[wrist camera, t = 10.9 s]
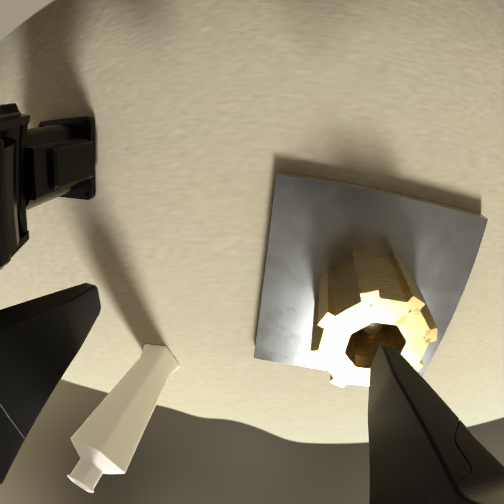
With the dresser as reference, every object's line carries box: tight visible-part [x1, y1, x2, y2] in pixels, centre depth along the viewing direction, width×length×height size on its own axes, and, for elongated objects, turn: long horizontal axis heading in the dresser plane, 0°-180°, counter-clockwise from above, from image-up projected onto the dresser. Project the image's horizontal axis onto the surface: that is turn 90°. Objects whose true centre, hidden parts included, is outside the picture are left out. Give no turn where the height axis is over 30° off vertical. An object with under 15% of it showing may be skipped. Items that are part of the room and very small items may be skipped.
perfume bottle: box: [67, 344, 180, 493], centre depth 21 cm, size 5×4×15 cm
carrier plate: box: [254, 172, 488, 376], centre depth 18 cm, size 14×14×4 cm
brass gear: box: [310, 249, 437, 388], centre depth 17 cm, size 7×7×5 cm
